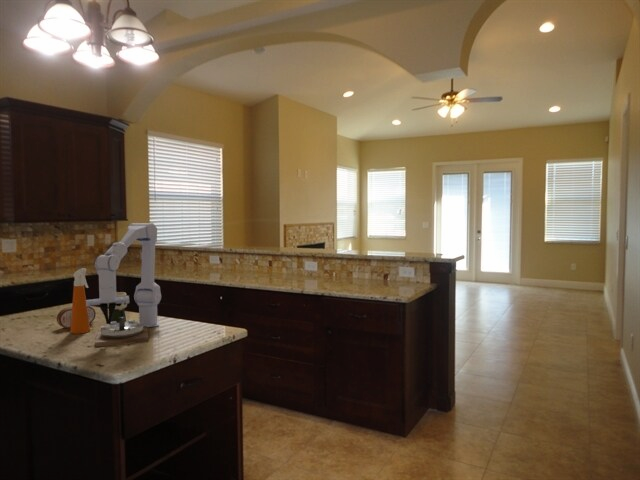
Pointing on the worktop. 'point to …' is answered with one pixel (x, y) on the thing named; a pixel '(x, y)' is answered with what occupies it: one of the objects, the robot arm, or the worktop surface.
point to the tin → (66, 316)
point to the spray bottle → (79, 304)
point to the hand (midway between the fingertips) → (108, 323)
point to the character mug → (119, 308)
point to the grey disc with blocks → (122, 329)
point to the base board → (121, 339)
